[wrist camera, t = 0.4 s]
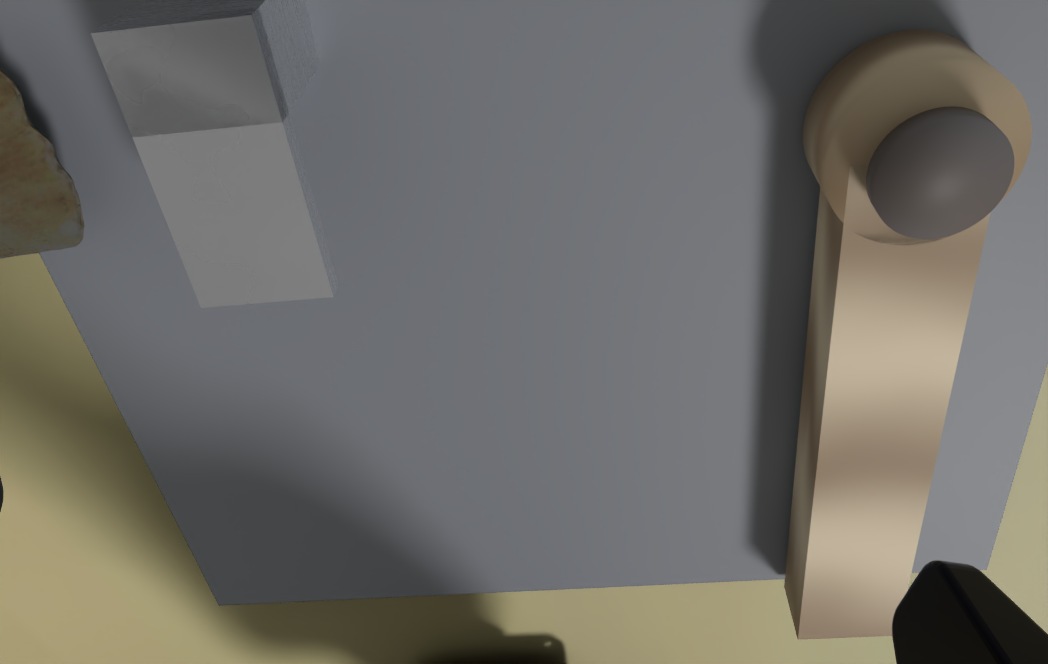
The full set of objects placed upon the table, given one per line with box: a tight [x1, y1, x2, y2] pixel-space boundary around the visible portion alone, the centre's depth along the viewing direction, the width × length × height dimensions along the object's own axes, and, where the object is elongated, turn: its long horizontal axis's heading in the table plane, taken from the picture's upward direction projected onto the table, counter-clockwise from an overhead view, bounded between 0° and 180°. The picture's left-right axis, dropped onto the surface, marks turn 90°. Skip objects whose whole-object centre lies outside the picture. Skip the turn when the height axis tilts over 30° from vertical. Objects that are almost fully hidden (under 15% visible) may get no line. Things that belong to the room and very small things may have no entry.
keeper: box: [91, 0, 338, 308], centre depth 19 cm, size 6×3×3 cm, turn 7°
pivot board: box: [0, 0, 1048, 605], centre depth 23 cm, size 25×26×1 cm
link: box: [784, 30, 1032, 639], centre depth 22 cm, size 18×4×3 cm, turn 7°
